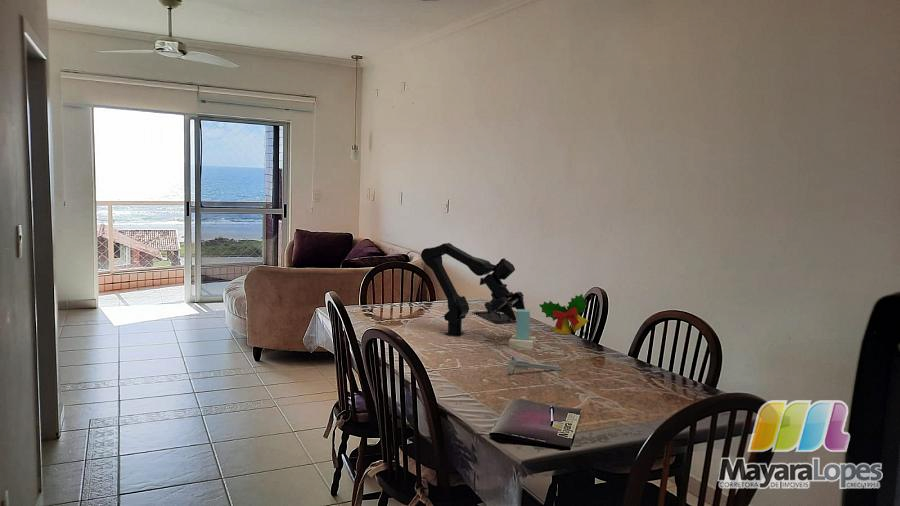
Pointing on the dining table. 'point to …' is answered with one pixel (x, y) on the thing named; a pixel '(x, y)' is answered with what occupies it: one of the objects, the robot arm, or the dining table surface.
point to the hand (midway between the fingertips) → (520, 318)
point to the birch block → (522, 343)
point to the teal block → (522, 324)
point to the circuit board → (495, 317)
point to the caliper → (528, 365)
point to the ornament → (566, 314)
